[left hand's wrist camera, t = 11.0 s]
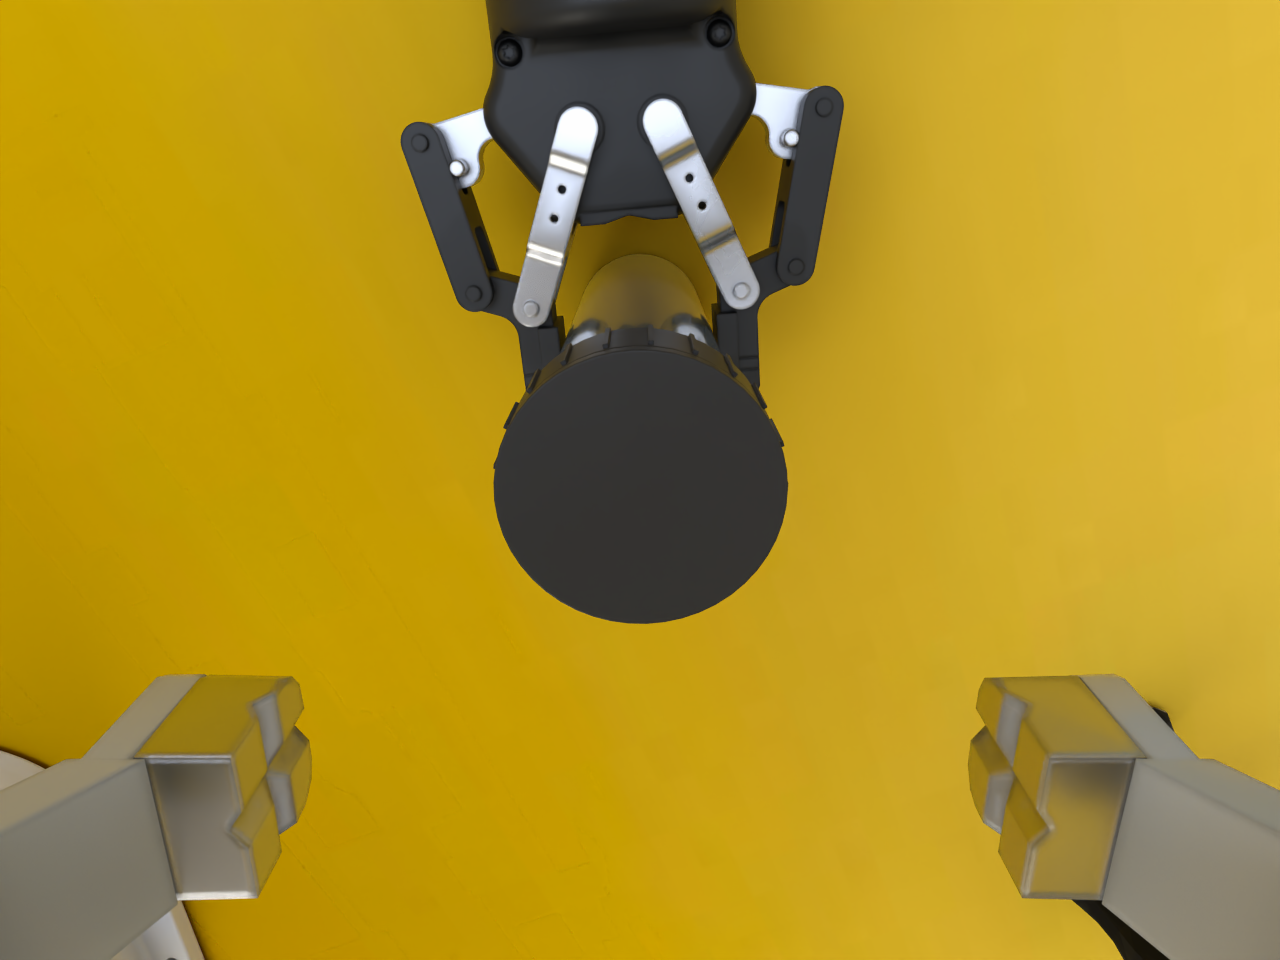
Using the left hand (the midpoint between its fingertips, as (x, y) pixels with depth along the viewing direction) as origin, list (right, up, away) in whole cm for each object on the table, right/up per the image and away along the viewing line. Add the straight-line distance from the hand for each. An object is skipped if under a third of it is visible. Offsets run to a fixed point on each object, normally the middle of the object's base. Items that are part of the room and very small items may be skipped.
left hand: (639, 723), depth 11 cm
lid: (0, +3, +7) cm, 8 cm away
